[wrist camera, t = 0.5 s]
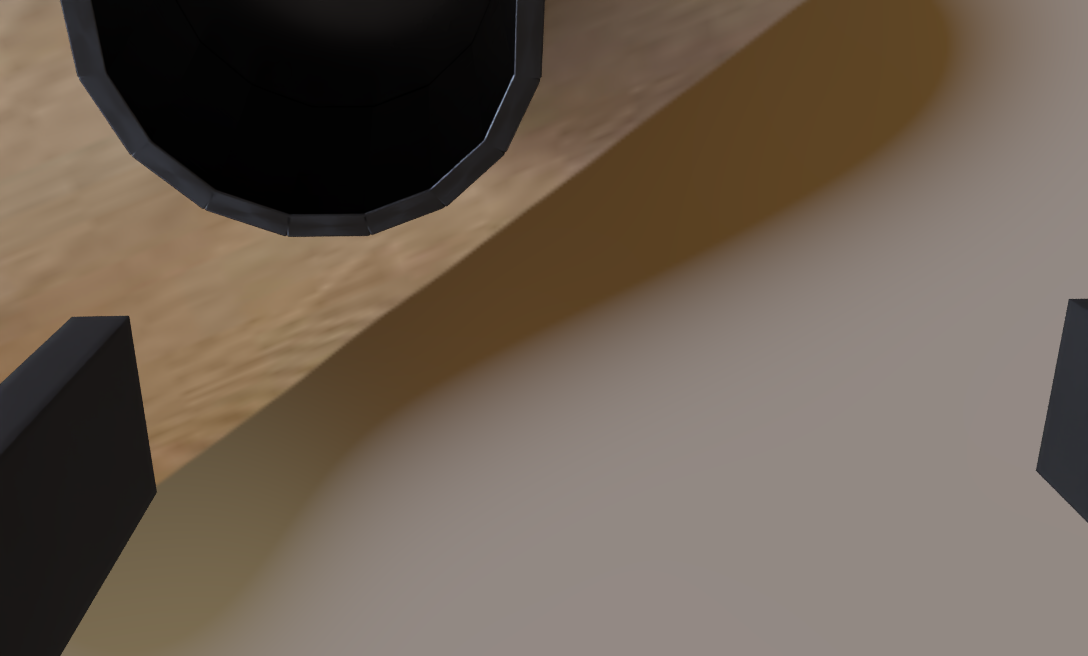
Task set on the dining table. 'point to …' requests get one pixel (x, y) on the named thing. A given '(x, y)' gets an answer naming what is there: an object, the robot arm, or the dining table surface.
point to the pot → (312, 100)
